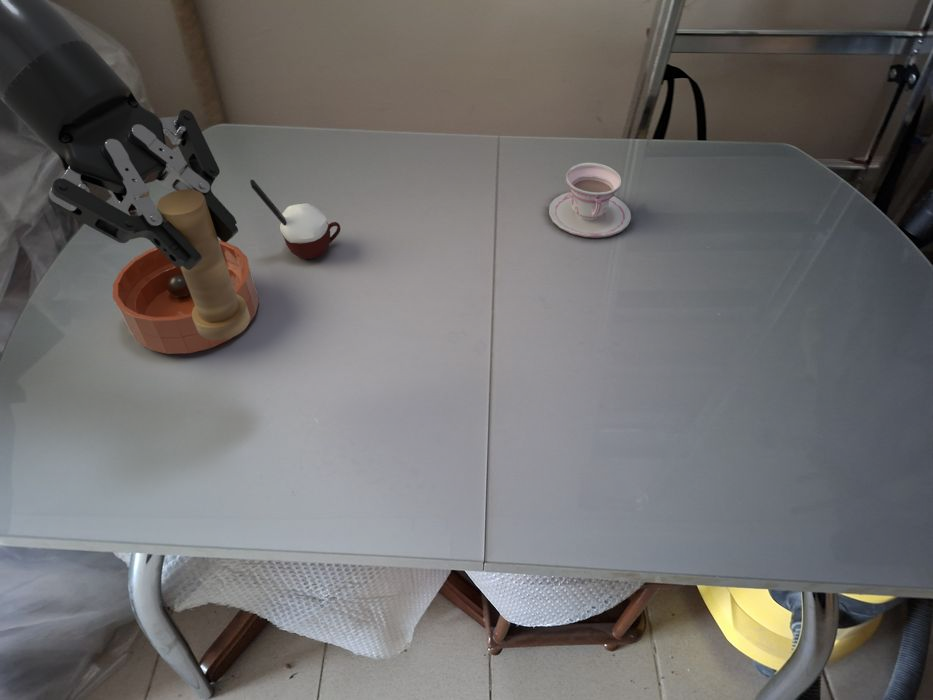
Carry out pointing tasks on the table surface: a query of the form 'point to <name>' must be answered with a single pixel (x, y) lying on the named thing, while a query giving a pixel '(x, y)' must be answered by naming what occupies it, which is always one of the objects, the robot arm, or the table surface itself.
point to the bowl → (172, 301)
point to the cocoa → (302, 227)
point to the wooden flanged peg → (205, 267)
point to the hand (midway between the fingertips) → (213, 249)
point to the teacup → (591, 202)
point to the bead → (178, 286)
